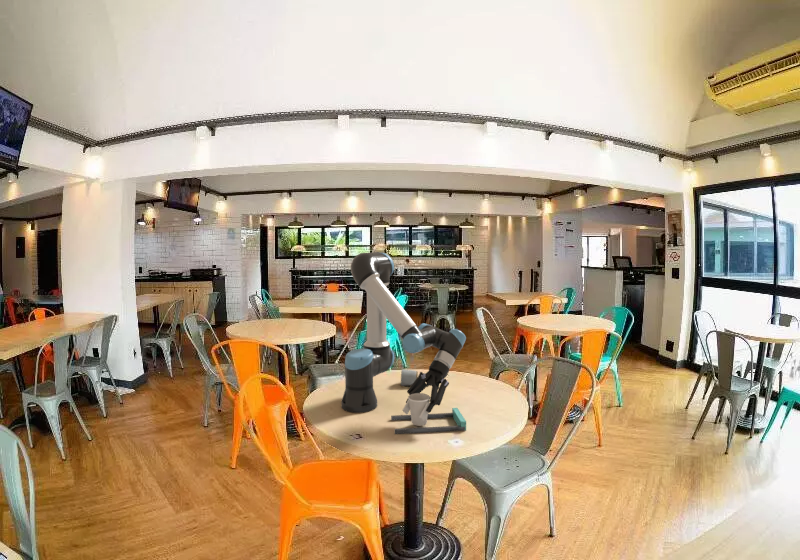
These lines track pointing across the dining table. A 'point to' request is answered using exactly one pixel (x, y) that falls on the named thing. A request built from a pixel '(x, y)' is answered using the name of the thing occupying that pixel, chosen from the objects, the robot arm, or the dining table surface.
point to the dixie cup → (418, 407)
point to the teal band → (458, 418)
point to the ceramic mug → (408, 377)
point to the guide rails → (426, 429)
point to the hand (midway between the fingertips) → (413, 415)
